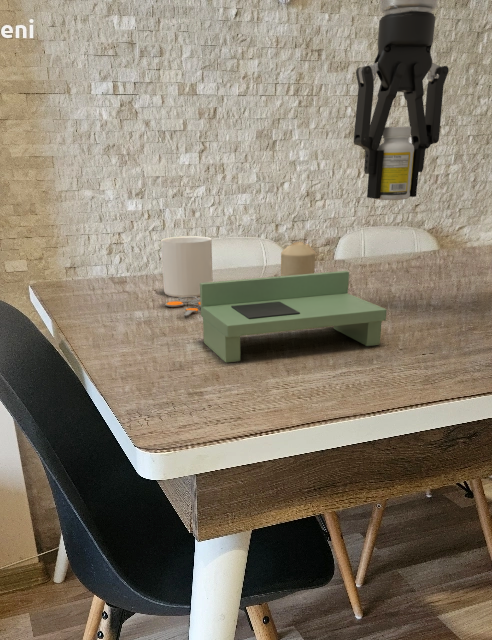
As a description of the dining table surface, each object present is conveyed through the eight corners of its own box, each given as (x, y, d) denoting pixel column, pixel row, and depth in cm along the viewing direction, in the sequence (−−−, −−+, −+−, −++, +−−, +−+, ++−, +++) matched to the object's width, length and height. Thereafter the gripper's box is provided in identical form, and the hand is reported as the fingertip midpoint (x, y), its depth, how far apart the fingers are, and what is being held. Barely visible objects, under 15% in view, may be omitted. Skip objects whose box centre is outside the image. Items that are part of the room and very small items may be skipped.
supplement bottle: (384, 196, 105) (390, 127, 101) (415, 198, 102) (423, 126, 98) (366, 199, 102) (371, 127, 97) (398, 201, 99) (405, 126, 94)
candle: (281, 301, 115) (282, 240, 110) (313, 302, 114) (316, 240, 109) (278, 308, 110) (279, 245, 105) (312, 309, 109) (314, 245, 104)
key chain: (160, 301, 116) (159, 296, 115) (199, 297, 118) (199, 292, 118) (182, 317, 105) (181, 312, 105) (225, 313, 107) (225, 307, 107)
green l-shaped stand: (383, 346, 89) (389, 285, 86) (228, 365, 83) (226, 300, 80) (342, 325, 99) (346, 270, 96) (201, 340, 94) (199, 282, 90)
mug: (217, 295, 120) (216, 241, 116) (167, 299, 118) (164, 244, 114) (204, 283, 130) (203, 233, 126) (158, 286, 129) (155, 235, 124)
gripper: (450, 19, 97) (431, 192, 107) (334, 17, 92) (325, 198, 103) (482, 10, 90) (458, 196, 101) (358, 7, 86) (347, 201, 96)
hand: (391, 196), depth 102 cm, fingers closed on supplement bottle, 5 cm apart
